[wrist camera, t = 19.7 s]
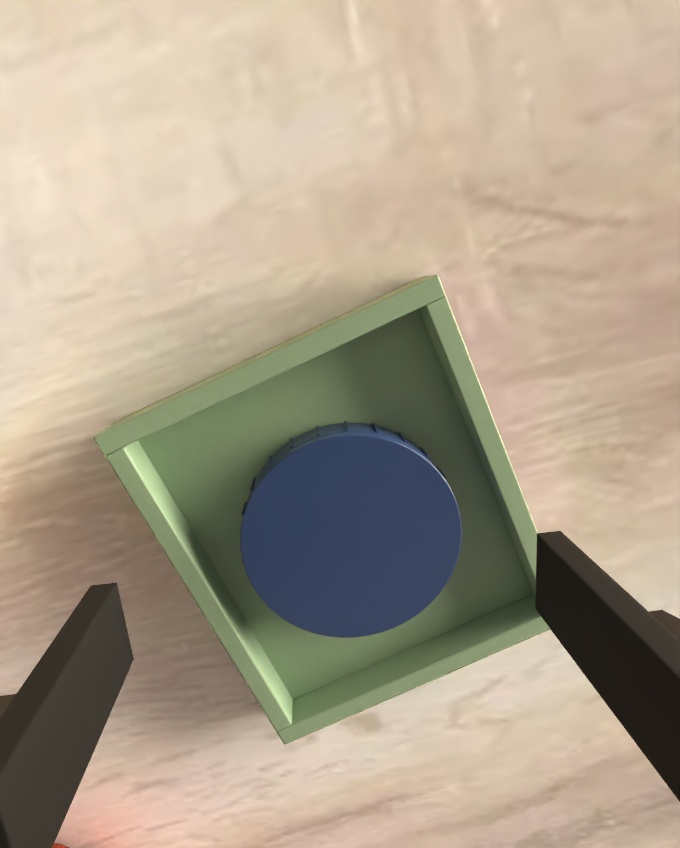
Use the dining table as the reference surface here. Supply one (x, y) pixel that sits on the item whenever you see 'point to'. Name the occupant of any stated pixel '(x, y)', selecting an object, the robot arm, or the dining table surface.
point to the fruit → (58, 846)
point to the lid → (349, 530)
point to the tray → (301, 412)
